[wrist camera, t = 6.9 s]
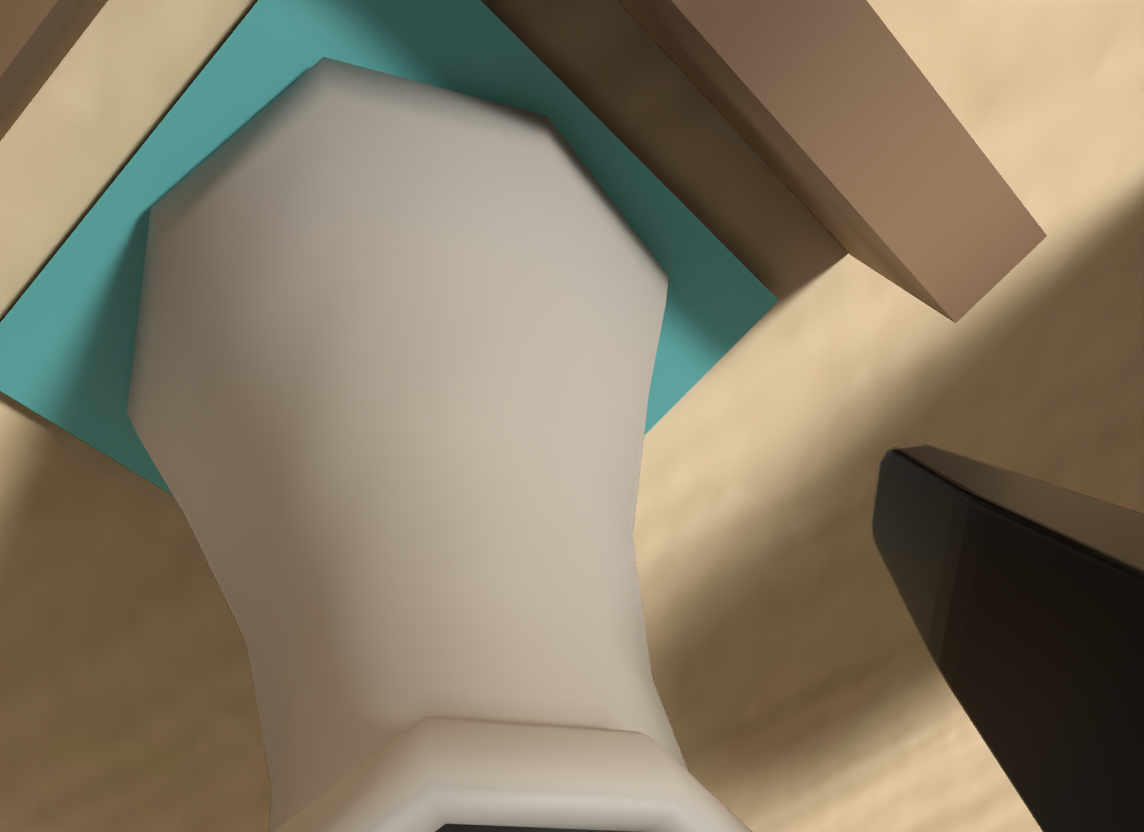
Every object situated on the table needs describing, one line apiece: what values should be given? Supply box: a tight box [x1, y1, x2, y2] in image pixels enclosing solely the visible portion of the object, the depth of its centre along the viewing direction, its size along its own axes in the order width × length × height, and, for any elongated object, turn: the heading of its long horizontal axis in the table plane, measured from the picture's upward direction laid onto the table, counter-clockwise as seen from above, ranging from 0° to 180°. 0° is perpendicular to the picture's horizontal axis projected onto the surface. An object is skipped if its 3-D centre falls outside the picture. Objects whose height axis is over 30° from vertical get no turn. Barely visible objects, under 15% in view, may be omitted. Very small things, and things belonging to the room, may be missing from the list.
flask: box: [127, 57, 752, 832], centre depth 10 cm, size 7×7×10 cm
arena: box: [0, 0, 1047, 323], centre depth 13 cm, size 11×15×3 cm
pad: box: [0, 0, 778, 495], centre depth 14 cm, size 8×8×1 cm
